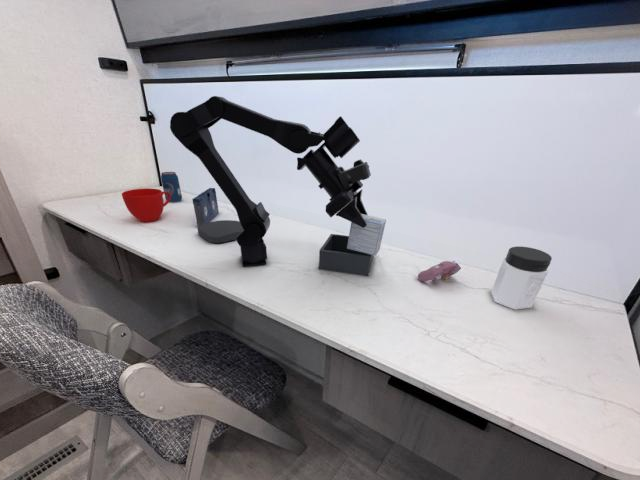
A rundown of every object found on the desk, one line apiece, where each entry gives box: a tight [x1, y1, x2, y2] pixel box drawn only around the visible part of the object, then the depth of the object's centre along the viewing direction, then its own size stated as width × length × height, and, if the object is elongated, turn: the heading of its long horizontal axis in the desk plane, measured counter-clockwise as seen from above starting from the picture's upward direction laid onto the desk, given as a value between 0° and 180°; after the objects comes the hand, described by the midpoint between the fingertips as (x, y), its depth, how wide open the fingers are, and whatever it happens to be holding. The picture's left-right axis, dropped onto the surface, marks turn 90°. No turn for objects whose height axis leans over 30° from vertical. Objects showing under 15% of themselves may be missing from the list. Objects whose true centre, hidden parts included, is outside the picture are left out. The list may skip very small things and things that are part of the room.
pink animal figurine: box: [417, 260, 462, 284], centre depth 78 cm, size 10×5×7 cm, turn 118°
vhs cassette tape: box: [192, 187, 220, 228], centre depth 114 cm, size 18×3×10 cm, turn 178°
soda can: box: [160, 171, 183, 203], centre depth 136 cm, size 7×7×12 cm
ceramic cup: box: [121, 187, 170, 223], centre depth 114 cm, size 13×17×10 cm
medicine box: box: [347, 214, 387, 257], centre depth 78 cm, size 8×4×9 cm, turn 68°
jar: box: [490, 246, 553, 310], centre depth 69 cm, size 9×8×12 cm
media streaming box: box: [197, 219, 243, 244], centre depth 103 cm, size 15×15×3 cm
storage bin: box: [318, 233, 375, 277], centre depth 86 cm, size 14×14×6 cm
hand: (366, 223), depth 76 cm, fingers closed on medicine box, 5 cm apart
